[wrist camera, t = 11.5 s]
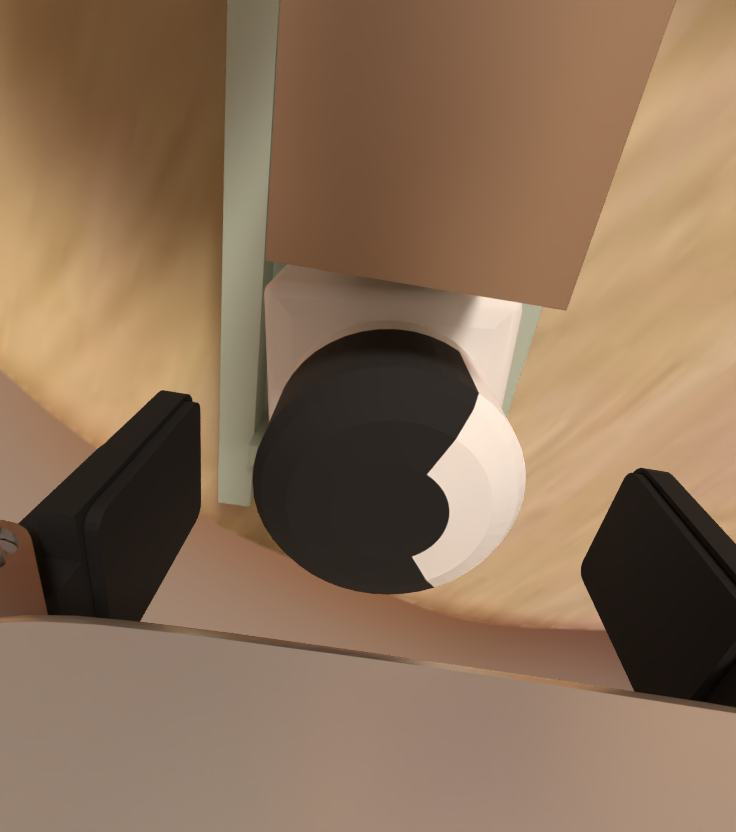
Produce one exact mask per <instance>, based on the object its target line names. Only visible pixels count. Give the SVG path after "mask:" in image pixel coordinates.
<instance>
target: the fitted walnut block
mask: <svg viewBox="0 0 736 832" xmlns="http://www.w3.org/2000/svg"><path fill="white" fill-rule="evenodd" d="M675 2H676V0H281V1H280V18H279V35H278V53H277V70H276V87H275V104H274V121H273V138H272V155H271V172H270V189H269V206H268V223H267V240H266V257H265V261H271V262H277V263H283V264H289V265H295V266H301V267H307V268H313V269H319V270H325V271H331V272H337V273H343V274H349V275H355V276H361V277H367V278H373V279H379V280H385V281H391V282H397V283H403V284H409V285H415V286H421V287H427V288H433V289H440V290H446V291H452V292H458V293H464V294H470V295H476V296H482V297H488V298H494V299H500V300H506V301H512V302H518V303H524V304H530V305H536V306H542V307H548V308H554V309H560V310H567V307H568V304H569V301H570V299H571V296H572V293H573V290H574V287H575V284H576V282H577V279H578V276H579V273H580V270H581V268H582V265H583V262H584V259H585V256H586V253H587V251H588V248H589V245H590V242H591V239H592V236H593V234H594V231H595V228H596V225H597V222H598V219H599V217H600V214H601V211H602V208H603V205H604V202H605V200H606V197H607V194H608V191H609V188H610V186H611V183H612V180H613V177H614V174H615V171H616V169H617V166H618V163H619V160H620V157H621V154H622V152H623V149H624V146H625V143H626V140H627V137H628V135H629V132H630V129H631V126H632V123H633V120H634V118H635V115H636V112H637V109H638V106H639V104H640V101H641V98H642V95H643V92H644V89H645V87H646V84H647V81H648V78H649V75H650V72H651V70H652V67H653V64H654V61H655V58H656V55H657V53H658V50H659V47H660V44H661V41H662V38H663V36H664V33H665V30H666V27H667V24H668V22H669V19H670V16H671V13H672V10H673V7H674V5H675Z"/></svg>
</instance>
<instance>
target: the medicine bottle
mask: <svg viewBox="0 0 736 832" xmlns="http://www.w3.org/2000/svg"><path fill="white" fill-rule="evenodd" d="M264 301H265V327H266V353H267V380H268V406H269V424H268V426H267V428H266V431H265V433H264V435H263V438H262V440H261V442H260V445H259V447H258V449H257V453H256V457H255V461H254V466H253V480H252V483H253V492H254V499H255V503H256V506H257V510H258V513H259V515H260V517H261V520H262V522H263V524H264V526H265V528H266V529H267V531H268V532H269V534H270V535H271V537H272V538H273V540H274V541H275V542H276V543H277V544H278V546H279V547H280V548H281V549H282V550H283V551H284V552H285V553H286V554H287V555H288V556H289V557H291V558H292V559H293V560H294V561H295V562H296V563H297V564H299V565H300V566H301V567H303V568H304V569H305V570H307V571H308V572H310V573H311V574H313V575H315V576H317V577H319V578H321V579H323V580H324V581H327V582H329V583H332V584H334V585H337V586H339V587H343V588H346V589H350V590H354V591H359V592H366V593H372V594H404V593H411V592H418V591H422V590H426V589H430V588H434V587H437V586H440V585H442V584H445V583H448V582H450V581H452V580H454V579H456V578H458V577H460V576H462V575H464V574H465V573H467V572H469V571H470V570H472V569H473V568H475V567H476V566H477V565H479V564H480V563H481V562H482V561H483V560H484V559H486V558H487V557H488V556H489V555H490V554H491V553H492V552H493V551H494V550H495V549H496V547H497V546H498V545H499V544H500V543H501V542H502V541H503V540H504V538H505V537H506V535H507V534H508V532H509V531H510V530H511V528H512V527H513V525H514V522H515V520H516V518H517V516H518V514H519V512H520V509H521V505H522V502H523V499H524V493H525V485H526V472H525V462H524V458H523V453H522V449H521V447H520V444H519V442H518V439H517V437H516V435H515V433H514V431H513V429H512V427H511V425H510V423H509V421H508V420H507V418H506V416H505V414H504V412H503V410H502V405H503V400H504V396H505V391H506V386H507V381H508V377H509V372H510V367H511V362H512V358H513V353H514V348H515V344H516V339H517V334H518V329H519V325H520V320H521V315H522V303H518V302H512V301H506V300H500V299H494V298H488V297H482V296H476V295H470V294H464V293H458V292H452V291H446V290H440V289H433V288H427V287H421V286H415V285H409V284H403V283H397V282H391V281H385V280H379V279H373V278H367V277H361V276H355V275H349V274H343V273H337V272H331V271H325V270H319V269H313V268H307V267H301V266H295V265H289V264H287V265H286V266H285V267H284V268H283V269H282V270H281V271H280V272H279V273H278V274H277V275H276V276H275V277H274V279H273V280H272V281H271V282H270V283H269V284H268V285H267V286H266V288H265V292H264Z"/></svg>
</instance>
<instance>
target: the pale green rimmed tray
mask: <svg viewBox="0 0 736 832" xmlns="http://www.w3.org/2000/svg"><path fill="white" fill-rule="evenodd" d="M280 1H281V0H227V38H226V92H225V145H224V198H223V252H222V305H221V358H220V412H219V465H218V503H225V504H232V505H240V506H247V507H250V505H251V503H252V500H253V497H254V492H253V483H252V480H253V466H254V461H255V457H256V453H257V449H258V447H259V445H260V442H261V440H262V438H263V435H264V433H265V431H266V428H267V426H268V424H269V406H268V380H267V353H266V327H265V301H264V292H265V288H266V286H267V285H268V284H269V283H270V282H271V281H272V280H273V279H274V277H275V276H276V275H277V274H278V273H279V272H280V271H281V270H282V269H283V268H284V267H285V266H286V265H287V264H283V263H277V262H271V261H265V257H266V240H267V223H268V206H269V189H270V172H271V155H272V138H273V121H274V104H275V87H276V70H277V53H278V35H279V18H280ZM542 308H543V307H542V306H536V305H530V304H524V303H522V315H521V320H520V325H519V329H518V334H517V339H516V344H515V348H514V353H513V358H512V362H511V367H510V372H509V377H508V381H507V386H506V391H505V396H504V400H503V405H502V410H503V412H504V414H505V416H506V417H507V414H508V411H509V408H510V405H511V402H512V399H513V396H514V393H515V390H516V387H517V384H518V381H519V378H520V375H521V372H522V369H523V366H524V363H525V360H526V357H527V354H528V351H529V348H530V345H531V341H532V338H533V335H534V332H535V329H536V326H537V323H538V320H539V317H540V314H541V311H542Z"/></svg>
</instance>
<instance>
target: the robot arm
mask: <svg viewBox="0 0 736 832" xmlns="http://www.w3.org/2000/svg"><path fill="white" fill-rule="evenodd" d="M200 507H201V440H200V405H199V403H196V402H192V398H191V396H190V395H188V394H182V393H176V392H170V391H164V390H162V391H160V392H159V393H157V394H156V395H155V396H154V397H153V398H152V399H151V400H150V401H149V402H148V403H147V404H146V405H145V406H144V407H143V408H142V409H141V410H140V411H138V412H137V413H136V414H135V415H134V416H133V417H132V418H131V419H130V420H129V421H128V422H127V423H126V424H125V425H124V426H123V427H122V428H121V429H120V430H118V431H117V432H116V433H115V434H114V435H113V436H112V437H111V438H110V439H109V440H108V441H107V442H106V443H105V444H104V445H102V446H101V447H99V448H98V449H97V450H96V451H95V452H94V453H93V454H92V455H91V456H89V457H88V458H87V459H86V461H84V462H83V463H82V464H81V465H80V466H79V467H78V468H77V469H76V470H75V471H74V472H73V473H72V474H70V475H69V476H68V477H67V478H66V479H65V480H64V481H63V482H62V483H61V484H60V485H59V486H58V487H57V488H56V489H55V490H53V491H52V492H51V493H50V494H49V495H48V496H47V497H46V498H45V499H44V500H43V501H42V502H41V503H40V504H39V505H38V506H36V507H35V508H34V510H32V511H31V512H30V513H29V514H28V515H27V516H26V517H25V518H24V519H23V520H22V521H21V522H20V523H18V524H17V523H13V522H9V521H5V520H0V832H736V544H735V543H734V542H733V541H732V539H731V538H730V537H729V536H728V535H727V534H726V533H725V532H724V531H723V530H722V529H721V528H720V526H719V525H718V524H717V523H716V522H715V521H714V520H713V519H712V518H711V517H710V516H709V515H708V513H707V512H706V511H705V510H704V509H703V508H702V507H701V506H700V505H699V504H698V503H697V501H696V500H695V499H694V498H693V497H692V496H691V495H690V494H689V493H688V492H687V491H686V490H685V488H684V487H683V486H682V485H681V484H680V483H679V482H678V481H677V480H676V479H675V478H674V477H673V475H671V474H670V473H669V472H663V471H657V470H651V469H645V468H639V469H637V470H636V471H634V472H633V473H629V474H628V475H626V477H625V478H624V480H623V482H622V484H621V486H620V488H619V490H618V492H617V494H616V496H615V498H614V500H613V502H612V504H611V506H610V508H609V510H608V512H607V514H606V516H605V518H604V520H603V522H602V524H601V526H600V528H599V530H598V532H597V534H596V536H595V538H594V540H593V542H592V544H591V546H590V548H589V550H588V552H587V554H586V556H585V558H584V560H583V562H582V566H581V576H582V580H583V582H584V584H585V586H586V588H587V591H588V593H589V595H590V597H591V599H592V601H593V603H594V606H595V608H596V610H597V612H598V614H599V616H600V618H601V621H602V623H603V625H604V627H605V629H606V631H607V633H608V635H609V638H610V640H611V642H612V644H613V646H614V648H615V650H616V653H617V655H618V657H619V659H620V661H621V663H622V666H623V668H624V670H625V672H626V674H627V676H628V678H629V681H630V683H631V685H632V687H633V689H634V691H635V692H633V691H626V690H620V689H613V688H607V687H601V686H594V685H587V684H581V683H574V682H567V681H561V680H554V679H547V678H541V677H534V676H527V675H520V674H513V673H506V672H500V671H493V670H486V669H479V668H473V667H465V666H459V665H452V664H445V663H438V662H431V661H424V660H418V659H410V658H404V657H396V656H390V655H383V654H376V653H368V652H362V651H355V650H348V649H340V648H333V647H326V646H319V645H312V644H305V643H297V642H291V641H283V640H276V639H269V638H262V637H255V636H248V635H241V634H234V633H226V632H218V631H210V630H202V629H194V628H186V627H178V626H170V625H163V624H154V623H146V622H140V620H141V618H142V617H143V615H144V613H145V611H146V609H147V608H148V606H149V604H150V603H151V601H152V599H153V597H154V595H155V594H156V592H157V590H158V588H159V586H160V585H161V583H162V581H163V579H164V578H165V576H166V574H167V572H168V570H169V569H170V567H171V565H172V563H173V561H174V560H175V558H176V556H177V554H178V553H179V551H180V549H181V547H182V545H183V544H184V542H185V540H186V538H187V536H188V535H189V533H190V531H191V529H192V527H193V526H194V524H195V522H196V520H197V518H198V515H199V512H200Z"/></svg>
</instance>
